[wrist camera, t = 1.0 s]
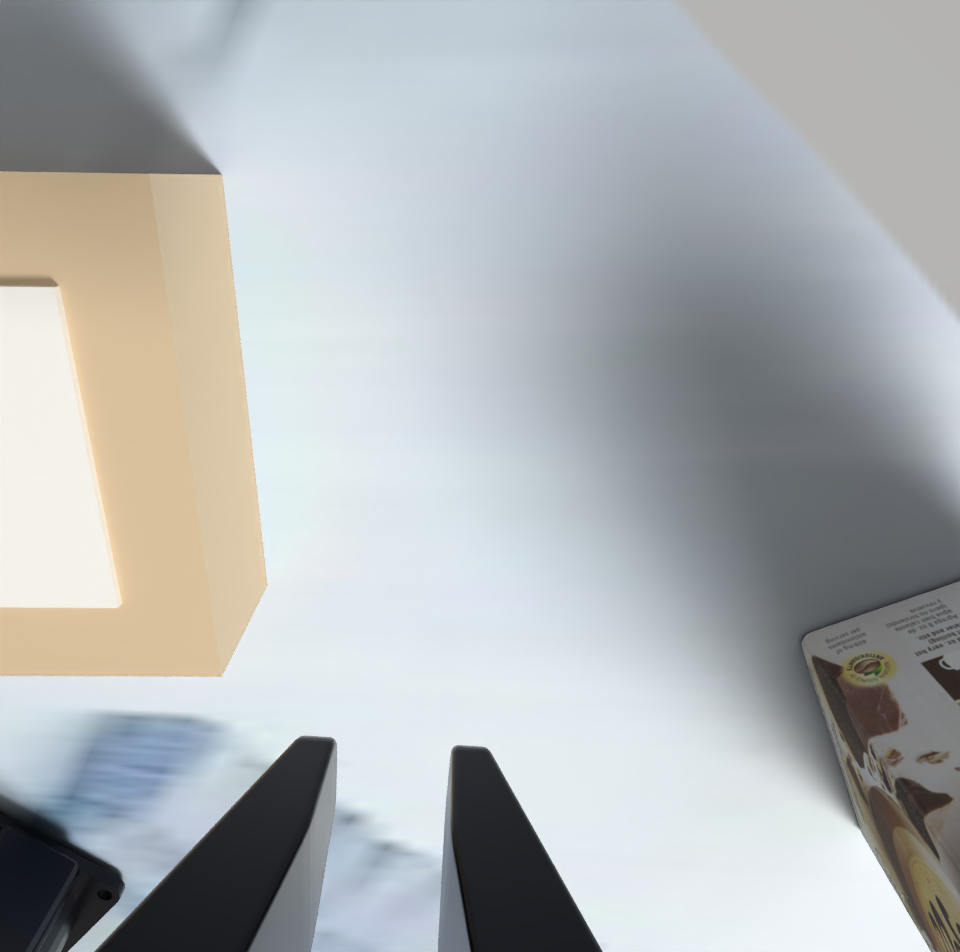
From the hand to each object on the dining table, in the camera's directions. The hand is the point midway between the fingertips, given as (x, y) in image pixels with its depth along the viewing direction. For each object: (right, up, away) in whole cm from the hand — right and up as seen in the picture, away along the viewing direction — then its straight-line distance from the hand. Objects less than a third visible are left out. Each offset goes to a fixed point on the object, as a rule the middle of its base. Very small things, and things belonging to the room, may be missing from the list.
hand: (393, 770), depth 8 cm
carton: (-10, +5, +11) cm, 16 cm away
